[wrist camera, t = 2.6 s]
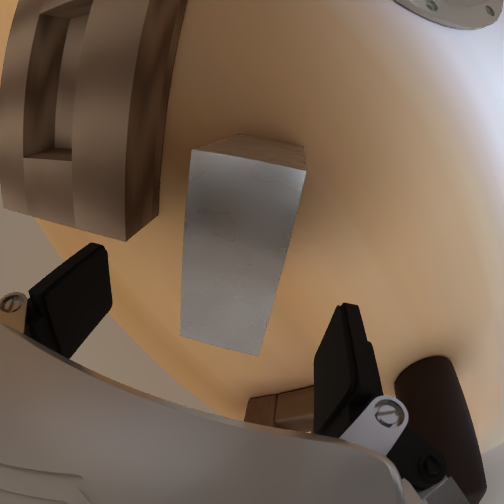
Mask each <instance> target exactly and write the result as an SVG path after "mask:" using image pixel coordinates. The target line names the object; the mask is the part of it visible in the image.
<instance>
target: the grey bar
mask: <svg viewBox="0 0 504 504" xmlns="http://www.w3.org/2000/svg"><path fill="white" fill-rule="evenodd" d="M305 175H306V162H305V152H304V147H302V146H298V145H293V144H289V143H284V142H279V141H274V140H269V139H264V138H259V137H253V136H248V135H242V134H238V135H234V136H231V137H228V138H225V139H221V140H218V141H215V142H212V143H209V144H206V145H203V146H200V147H198V148H195V149H192V151H191V160H190V169H189V178H188V189H187V200H186V212H185V225H184V240H183V258H182V281H181V334H180V336H183V337H186V338H190V339H193V340H196V341H200V342H204V343H207V344H211V345H214V346H218V347H222V348H226V349H230V350H234V351H238V352H242V353H246V354H250V355H255V356H258V355H259V351H260V348H261V345H262V341H263V338H264V334H265V331H266V327H267V323H268V320H269V316H270V313H271V309H272V305H273V302H274V298H275V295H276V291H277V287H278V283H279V280H280V276H281V272H282V268H283V264H284V261H285V257H286V253H287V249H288V245H289V241H290V237H291V233H292V229H293V225H294V221H295V217H296V213H297V209H298V205H299V201H300V196H301V192H302V188H303V184H304V179H305Z"/></svg>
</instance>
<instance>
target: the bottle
mask: <svg viewBox="0 0 504 504" xmlns="http://www.w3.org/2000/svg"><path fill="white" fill-rule="evenodd" d="M395 394H396V399H398V400H399V401H400V402H402V403H403V404H404V406H405V407H406V409H407V412H408V422H407V426H408V427H409V428H410V429H412V430H413V431H414V432H415V433H416V434H418V435H419V436H420V437H421V438H423V439H424V440H425V441H426V442H428V443H429V444H430V445H432V446H433V447H434V448H435V449H437V450H438V451H439V452H440V453H441V454H442V455H443V456H444V458H445V460H446V463H447V472H446V476H447V478H449V477H450V476H451V477H452V478H453V480H454V481H455V482H456V484H457V485H458V487H459V488H460V490H461V491H462V492H463V494H464V495H465V497H466V498H467V500H468V501H469V503H470V504H479V502H480V500H481V499H482V497H483V496H484V494H485V492H486V489H487V485H486V479H485V474H484V468H483V463H482V458H481V454H480V450H479V445H478V441H477V437H476V434H475V430H474V426H473V423H472V419H471V416H470V413H469V410H468V406H467V403H466V400H465V397H464V394H463V392H462V389H461V386H460V383H459V380H458V378H457V375H456V372H455V370H454V367H453V365H452V363H451V362H450V361H449V360H448V359H446V358H440V357H434V358H428V359H425V360H423V361H420V362H418V363H416V364H414V365H412V366H411V367H409V368H408V369H407V370H405V371H404V372H403V373H402V374H401V375H400V377H399V378H398V379H397V381H396V384H395Z"/></svg>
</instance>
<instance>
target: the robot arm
mask: <svg viewBox="0 0 504 504" xmlns="http://www.w3.org/2000/svg"><path fill="white" fill-rule="evenodd" d="M395 1H397V2H398V3H400V4H402V5H403V6H405V7H407V8H408V9H410V10H411V11H413V12H415V13H417V14H419V15H421V16H423V17H425V18H427V19H429V20H431V21H434V22H437V23H439V24H442V25H445V26H448V27H453V28H457V29H465V30H474V29H479V28H483V27H486V26H488V25H491V24H493V23H494V22H495V21H496V20H497V19H498V18H499V16H500V14H501V12H502V6H503V0H395ZM29 295H30V298H29V299H28V300H27V297H26V296H25V295H24V294H23V293H20V292H13V293H9V294H7V295H5V296H4V297H3V298H1V299H0V504H470V503H469V501H468V500H467V498H466V497H465V495H464V494H463V492H462V491H461V490H460V488H459V487H458V485H457V484H456V482H455V481H454V480H453V478H452V477H451V476H450V477H449V478H447V476H446V472H447V463H446V460H445V458H444V456H443V455H442V454H441V453H440V452H439V451H438V450H437V449H435V448H434V447H433V446H432V445H430V444H429V443H428V442H426V441H425V440H424V439H423V438H421V437H420V436H419V435H418V434H416V433H415V432H414V431H413V430H412V429H410V428H409V427H408V426H407V422H408V412H407V409H406V407H405V406H404V404H403V403H402V402H400V401H399V400H398V399H396V398H394V397H391V396H383V391H382V386H381V381H380V376H379V372H378V367H377V363H376V359H375V355H374V350H373V346H372V344H371V342H369V341H367V337H366V333H365V329H364V325H363V321H362V318H361V314H360V310H359V307H358V305H354V304H349V303H343V304H342V305H341V306H339V305H338V306H337V307H336V309H335V311H334V314H333V316H332V319H331V321H330V323H329V326H328V328H327V330H326V332H325V335H324V337H323V339H322V341H321V344H320V346H319V348H318V350H317V352H316V355H315V358H314V428H313V430H314V434H311V433H305V432H298V431H292V430H286V429H280V428H274V427H269V426H264V425H259V424H254V423H249V422H244V421H240V420H235V419H231V418H227V417H222V416H218V415H215V414H211V413H207V412H203V411H200V410H196V409H193V408H189V407H186V406H183V405H180V404H177V403H173V402H170V401H167V400H164V399H162V398H159V397H156V396H153V395H150V394H147V393H145V392H142V391H139V390H137V389H134V388H132V387H129V386H126V385H124V384H122V383H119V382H117V381H115V380H112V379H110V378H108V377H105V376H103V375H101V374H99V373H97V372H94V371H92V370H90V369H88V368H86V367H84V366H82V365H80V364H78V363H76V362H74V361H72V360H70V357H72V355H73V354H74V353H75V351H76V350H77V349H78V348H79V346H80V345H81V344H82V343H83V342H84V340H85V339H86V338H87V337H88V335H89V334H90V333H91V332H92V331H93V329H94V328H95V327H96V326H97V325H98V323H99V322H100V321H101V320H102V319H103V317H104V316H105V315H106V314H107V313H108V312H109V310H110V309H111V307H112V303H113V302H112V293H111V285H110V276H109V265H108V254H107V251H106V250H105V248H104V246H103V245H100V244H96V243H89V244H88V245H87V246H85V247H84V248H82V249H81V250H80V251H78V252H77V253H76V254H74V255H73V256H72V257H70V258H69V259H68V260H66V261H65V262H64V263H62V264H61V265H60V266H58V267H57V268H56V269H55V270H53V271H52V272H51V273H50V274H48V275H47V276H46V277H45V278H43V279H42V280H41V281H40V282H39V283H37V284H36V285H35V286H34V287H32V288H31V289H30V290H29ZM317 434H318V435H317Z"/></svg>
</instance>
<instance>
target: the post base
mask: <svg viewBox="0 0 504 504" xmlns="http://www.w3.org/2000/svg"><path fill="white" fill-rule="evenodd" d="M186 4H187V0H19V2H18V5H17V8H16V11H15V14H14V18H13V22H12V25H11V29H10V33H9V38H8V42H7V47H6V52H5V58H4V64H3V70H2V78H1V86H0V184H1V193H2V200H3V207H4V208H5V209H9V210H12V211H16V212H20V213H23V214H26V215H30V216H33V217H37V218H40V219H44V220H47V221H51V222H54V223H58V224H62V225H65V226H69V227H72V228H76V229H80V230H83V231H87V232H91V233H95V234H98V235H102V236H106V237H110V238H113V239H117V240H121V241H125V242H126V241H127V240H128V239H130V238H131V237H132V236H133V235H134V234H136V233H137V232H138V231H139V230H140V229H142V228H143V227H144V226H145V225H147V224H148V223H149V222H150V221H152V220H153V219H154V218H155V217H157V216H158V209H159V188H160V172H161V159H162V148H163V138H164V128H165V120H166V112H167V104H168V97H169V90H170V83H171V77H172V71H173V65H174V60H175V54H176V49H177V44H178V39H179V34H180V30H181V25H182V21H183V17H184V12H185V8H186Z"/></svg>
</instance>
